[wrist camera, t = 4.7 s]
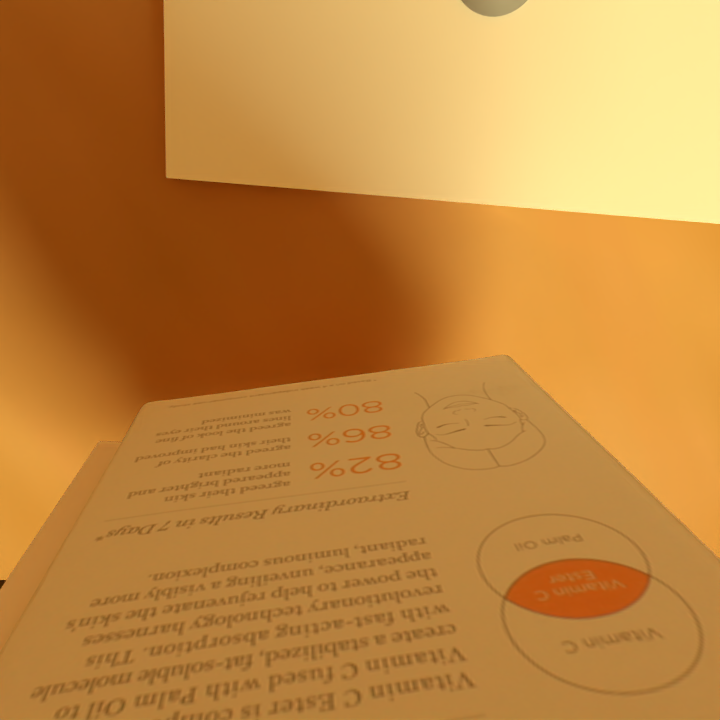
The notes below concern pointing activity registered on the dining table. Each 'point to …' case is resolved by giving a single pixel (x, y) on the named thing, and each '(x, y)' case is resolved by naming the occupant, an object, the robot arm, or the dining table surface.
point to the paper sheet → (453, 100)
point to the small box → (370, 566)
